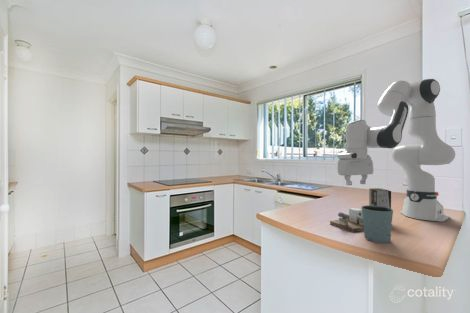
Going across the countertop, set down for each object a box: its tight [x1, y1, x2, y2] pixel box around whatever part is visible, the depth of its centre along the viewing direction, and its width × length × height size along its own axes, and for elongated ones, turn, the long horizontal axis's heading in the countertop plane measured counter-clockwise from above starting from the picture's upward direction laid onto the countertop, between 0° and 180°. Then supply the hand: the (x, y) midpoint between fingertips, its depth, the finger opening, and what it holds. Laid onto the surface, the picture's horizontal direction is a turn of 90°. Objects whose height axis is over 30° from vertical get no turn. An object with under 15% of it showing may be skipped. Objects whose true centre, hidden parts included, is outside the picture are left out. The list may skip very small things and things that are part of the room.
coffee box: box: [368, 187, 392, 209], centre depth 106 cm, size 9×6×16 cm
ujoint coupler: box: [348, 207, 363, 224], centre depth 100 cm, size 4×5×6 cm
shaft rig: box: [329, 211, 364, 233], centre depth 100 cm, size 21×12×7 cm, turn 115°
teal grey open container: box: [361, 204, 394, 244], centre depth 84 cm, size 10×10×12 cm
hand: (356, 184), depth 100 cm, fingers open, 8 cm apart
